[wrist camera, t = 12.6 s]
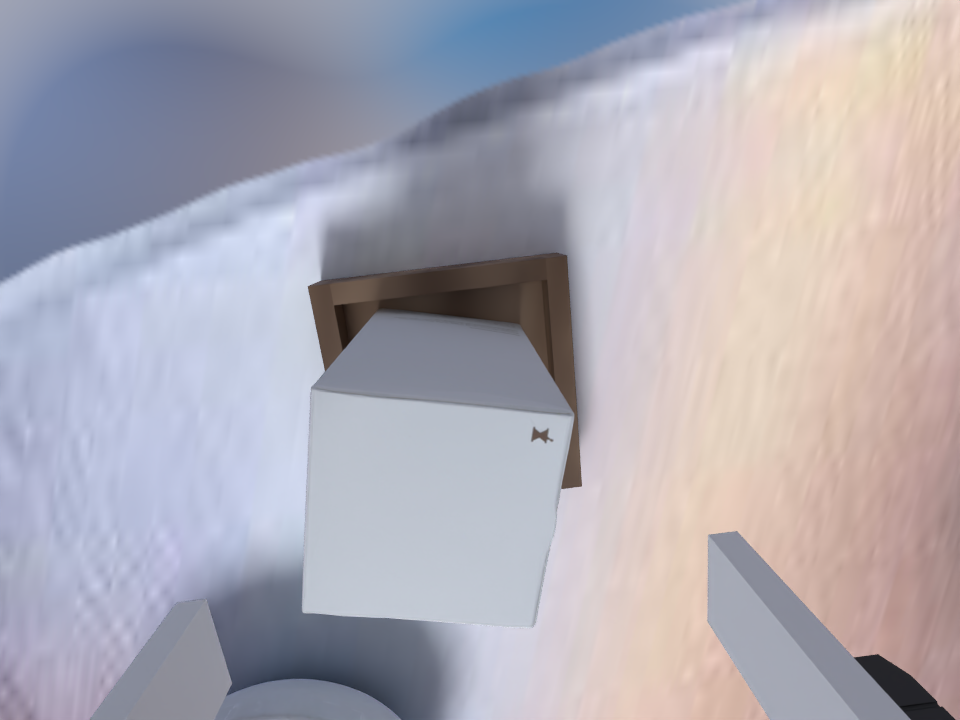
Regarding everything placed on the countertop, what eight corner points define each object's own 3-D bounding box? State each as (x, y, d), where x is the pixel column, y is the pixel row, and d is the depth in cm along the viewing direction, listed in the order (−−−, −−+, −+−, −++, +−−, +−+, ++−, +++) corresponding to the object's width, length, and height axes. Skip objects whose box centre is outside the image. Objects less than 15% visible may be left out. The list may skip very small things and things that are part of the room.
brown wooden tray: (556, 252, 31) (566, 255, 28) (571, 465, 34) (581, 486, 32) (320, 280, 30) (307, 286, 28) (362, 492, 34) (354, 515, 31)
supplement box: (374, 303, 30) (303, 377, 16) (522, 321, 31) (584, 408, 16) (363, 443, 32) (292, 619, 18) (500, 456, 33) (539, 636, 19)
